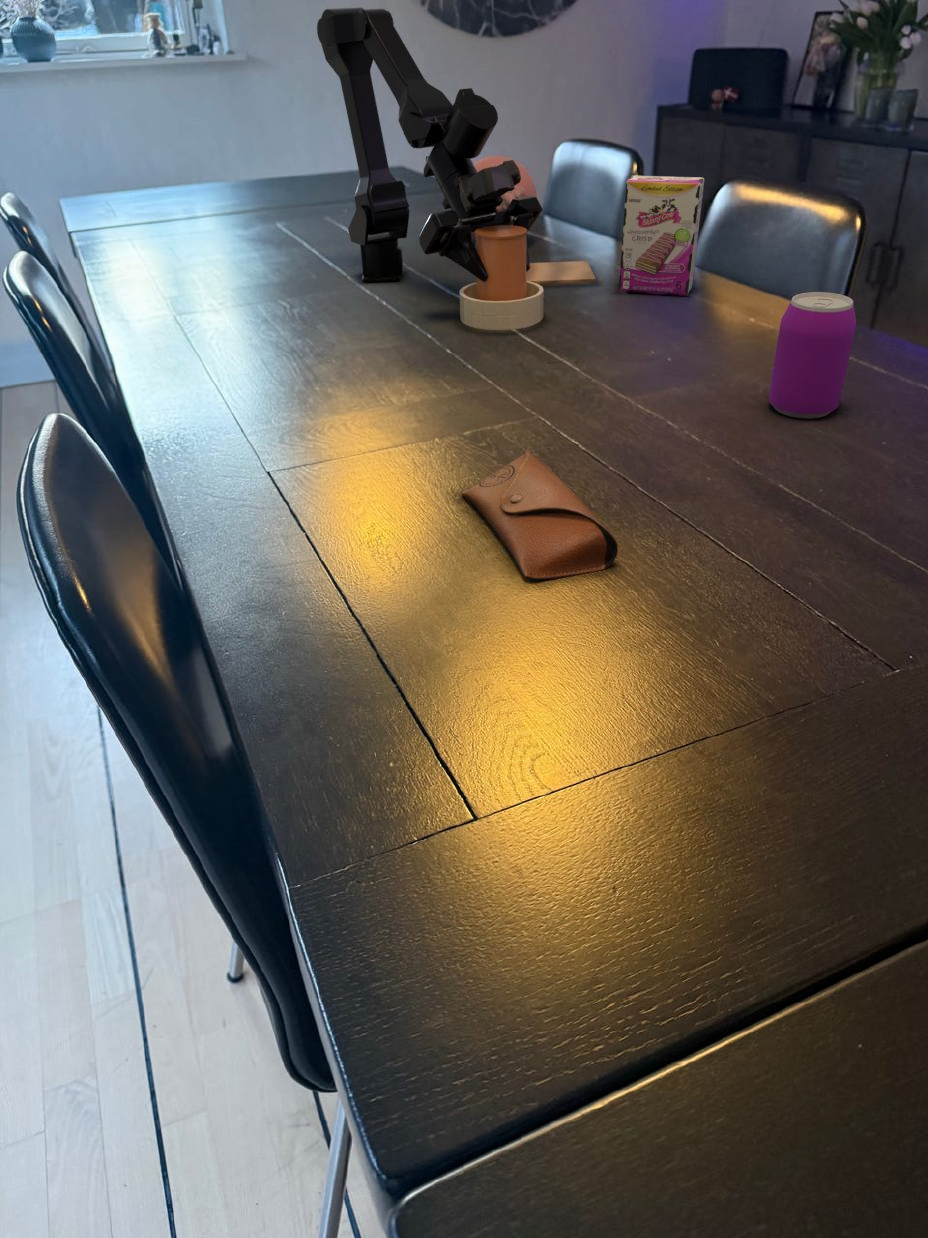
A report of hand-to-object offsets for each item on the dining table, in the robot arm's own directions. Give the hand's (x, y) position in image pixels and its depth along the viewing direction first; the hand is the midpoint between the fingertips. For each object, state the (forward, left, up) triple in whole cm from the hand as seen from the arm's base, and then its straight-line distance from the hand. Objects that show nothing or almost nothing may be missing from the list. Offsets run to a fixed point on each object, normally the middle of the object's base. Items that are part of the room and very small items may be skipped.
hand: (507, 275), depth 128 cm
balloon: (0, +48, -7) cm, 49 cm away
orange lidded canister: (-1, +1, -6) cm, 6 cm away
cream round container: (-1, +1, -7) cm, 7 cm away
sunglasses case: (0, -62, -7) cm, 62 cm away
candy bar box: (+24, +14, -7) cm, 29 cm away
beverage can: (+32, -36, -7) cm, 49 cm away
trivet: (+9, +25, -7) cm, 28 cm away
